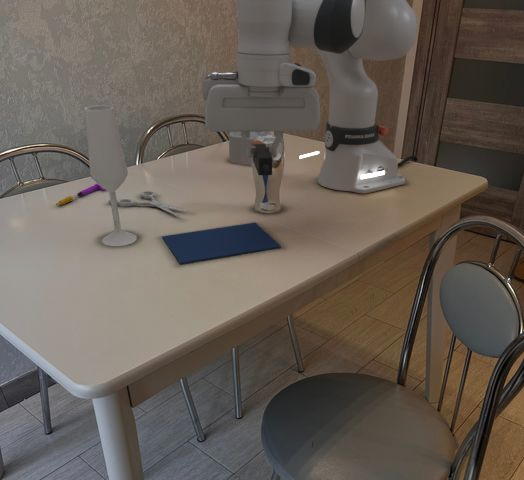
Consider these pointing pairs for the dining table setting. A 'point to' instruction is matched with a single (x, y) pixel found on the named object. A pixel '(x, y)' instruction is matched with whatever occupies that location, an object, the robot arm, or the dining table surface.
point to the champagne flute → (107, 163)
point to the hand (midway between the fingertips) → (261, 156)
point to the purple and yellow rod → (80, 194)
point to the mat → (219, 243)
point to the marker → (262, 158)
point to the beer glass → (269, 180)
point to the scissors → (153, 203)
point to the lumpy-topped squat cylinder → (241, 147)
